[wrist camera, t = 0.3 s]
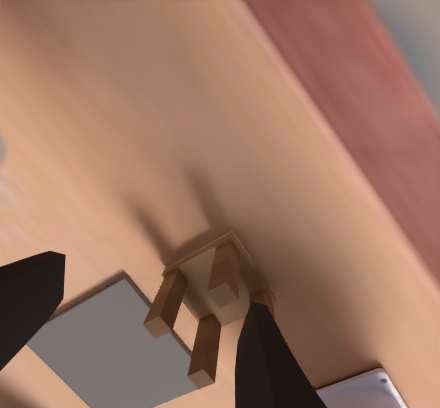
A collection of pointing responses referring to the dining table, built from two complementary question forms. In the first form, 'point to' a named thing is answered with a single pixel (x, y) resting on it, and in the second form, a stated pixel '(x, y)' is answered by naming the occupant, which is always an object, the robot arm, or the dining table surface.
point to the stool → (209, 298)
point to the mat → (114, 351)
